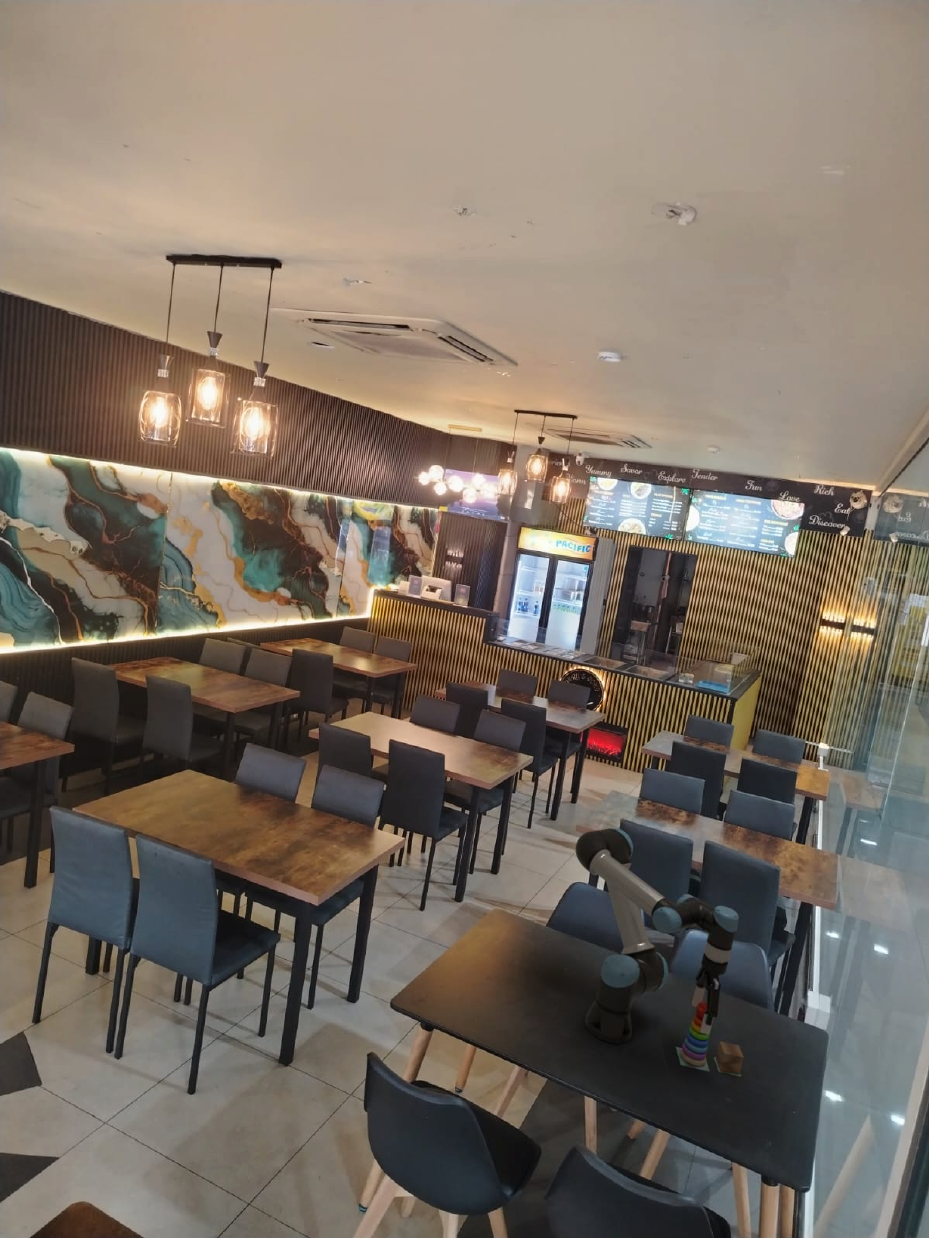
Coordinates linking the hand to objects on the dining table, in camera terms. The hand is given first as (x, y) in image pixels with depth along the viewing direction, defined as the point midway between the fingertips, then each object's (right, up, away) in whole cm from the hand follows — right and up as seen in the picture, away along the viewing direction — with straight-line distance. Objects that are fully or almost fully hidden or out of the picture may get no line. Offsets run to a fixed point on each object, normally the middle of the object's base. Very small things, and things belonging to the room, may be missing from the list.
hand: (700, 1019), depth 251 cm
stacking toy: (-2, -13, +1) cm, 13 cm away
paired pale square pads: (+2, -15, +1) cm, 15 cm away
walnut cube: (+9, -15, 0) cm, 17 cm away
